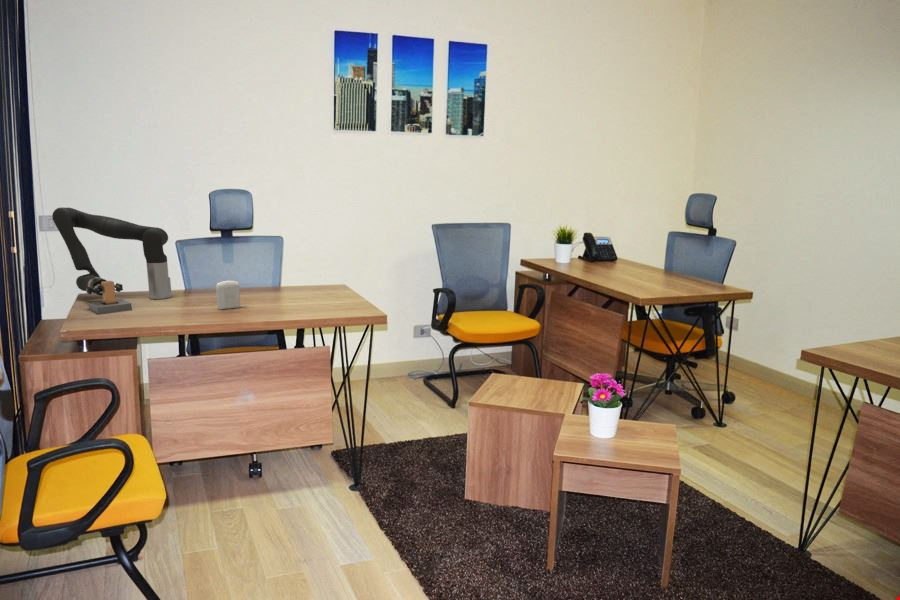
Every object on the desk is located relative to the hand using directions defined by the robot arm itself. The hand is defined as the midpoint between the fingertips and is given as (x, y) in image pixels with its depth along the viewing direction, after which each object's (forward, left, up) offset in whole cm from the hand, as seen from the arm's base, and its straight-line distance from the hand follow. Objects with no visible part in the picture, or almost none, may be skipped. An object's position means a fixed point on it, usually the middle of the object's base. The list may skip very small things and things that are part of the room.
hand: (109, 290), depth 317 cm
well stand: (0, -1, -9) cm, 9 cm away
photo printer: (-41, +31, -9) cm, 52 cm away
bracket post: (0, -1, -8) cm, 8 cm away
